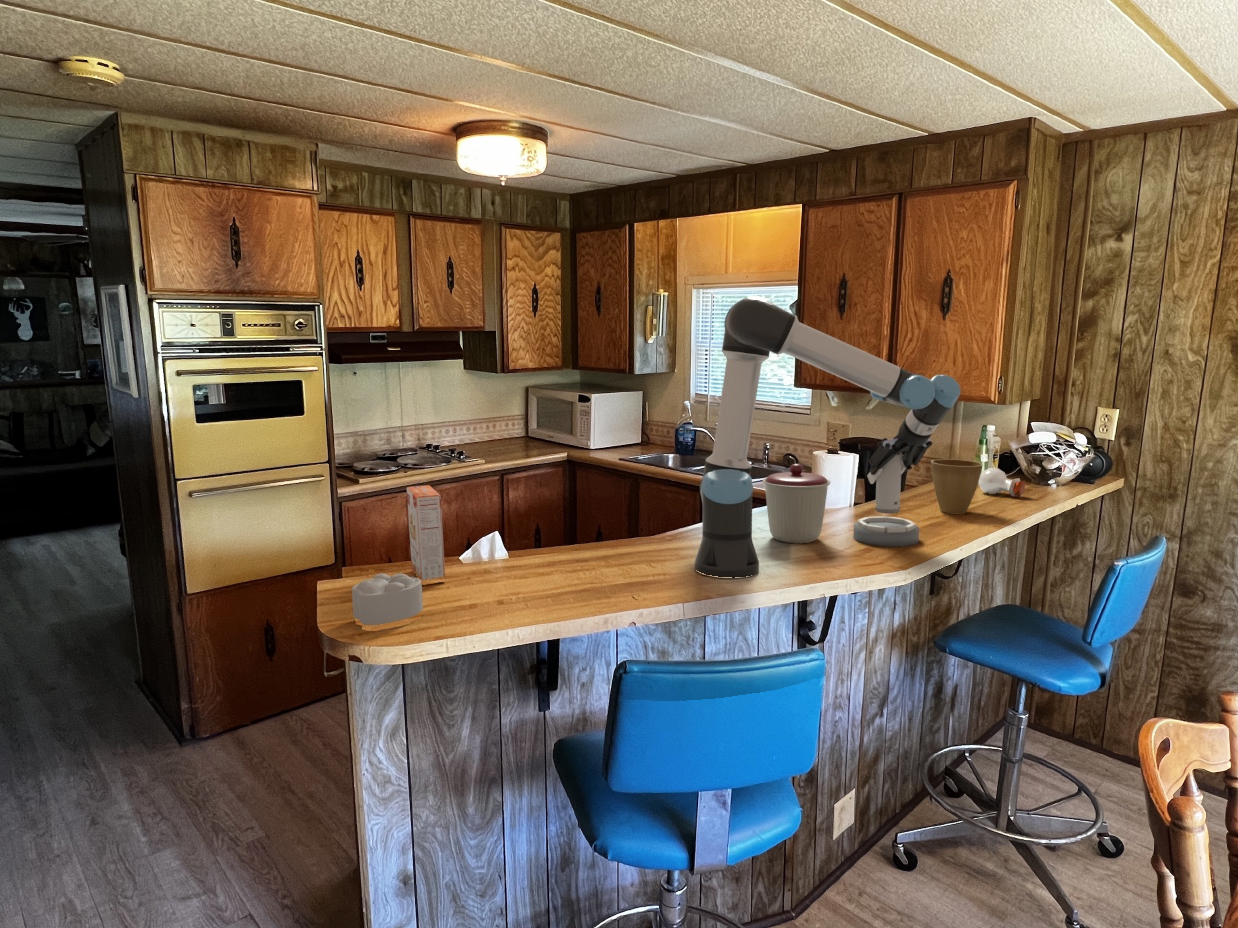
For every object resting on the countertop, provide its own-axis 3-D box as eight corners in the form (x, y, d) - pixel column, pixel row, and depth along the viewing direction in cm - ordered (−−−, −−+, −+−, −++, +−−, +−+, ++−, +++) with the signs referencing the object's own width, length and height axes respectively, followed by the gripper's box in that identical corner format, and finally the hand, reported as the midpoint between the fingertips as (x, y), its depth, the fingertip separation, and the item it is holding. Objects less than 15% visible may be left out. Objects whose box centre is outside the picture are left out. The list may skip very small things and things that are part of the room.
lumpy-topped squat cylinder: (349, 619, 153) (346, 577, 152) (412, 606, 161) (409, 566, 160) (367, 634, 145) (364, 590, 144) (432, 619, 153) (430, 577, 151)
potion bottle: (979, 494, 279) (1018, 506, 267) (968, 482, 274) (1009, 493, 261) (991, 473, 280) (1031, 483, 268) (981, 460, 275) (1021, 470, 263)
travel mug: (902, 514, 206) (905, 440, 204) (876, 513, 208) (879, 439, 205) (899, 509, 213) (901, 437, 210) (874, 508, 214) (876, 437, 211)
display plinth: (866, 547, 203) (867, 529, 202) (844, 532, 219) (845, 516, 219) (929, 545, 203) (930, 528, 203) (903, 530, 220) (903, 514, 220)
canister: (750, 534, 218) (751, 461, 215) (806, 529, 224) (807, 457, 221) (782, 550, 201) (784, 470, 198) (842, 543, 207) (844, 466, 204)
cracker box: (410, 571, 186) (405, 486, 183) (435, 568, 189) (431, 484, 186) (419, 586, 174) (414, 496, 171) (446, 583, 176) (441, 493, 173)
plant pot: (949, 518, 236) (951, 466, 233) (919, 508, 250) (921, 460, 248) (990, 515, 239) (993, 464, 237) (959, 506, 254) (961, 458, 251)
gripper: (890, 438, 190) (854, 492, 208) (958, 435, 194) (917, 488, 212) (879, 415, 195) (845, 470, 213) (946, 413, 199) (907, 466, 217)
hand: (881, 479), depth 212 cm, fingers closed on travel mug, 6 cm apart
